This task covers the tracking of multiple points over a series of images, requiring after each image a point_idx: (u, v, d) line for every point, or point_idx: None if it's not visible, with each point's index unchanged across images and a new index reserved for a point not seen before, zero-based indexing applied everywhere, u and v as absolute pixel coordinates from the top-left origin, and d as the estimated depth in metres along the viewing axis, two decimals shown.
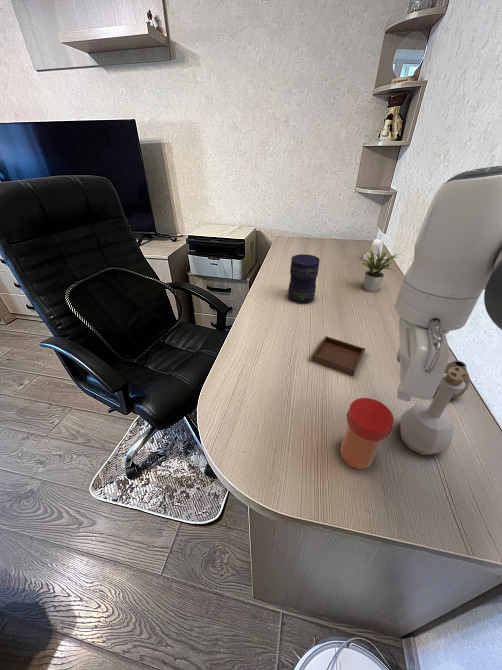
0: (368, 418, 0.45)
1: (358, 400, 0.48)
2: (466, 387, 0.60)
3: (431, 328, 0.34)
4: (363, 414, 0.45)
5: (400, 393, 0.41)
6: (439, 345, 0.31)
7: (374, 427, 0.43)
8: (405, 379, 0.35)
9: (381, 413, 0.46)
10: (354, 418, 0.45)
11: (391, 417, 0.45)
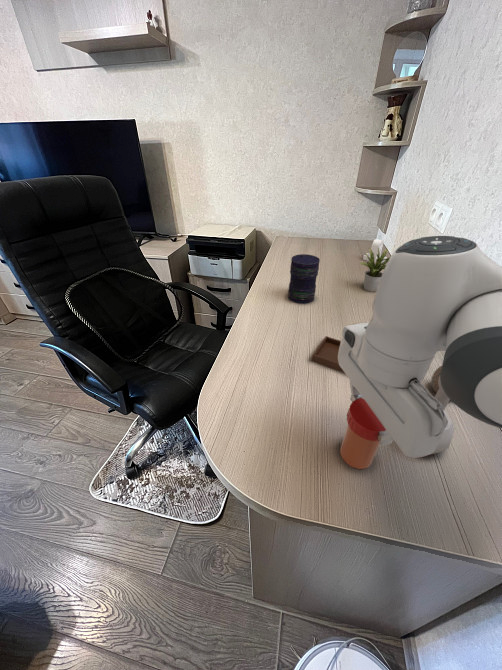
0: (368, 418, 0.45)
1: (358, 400, 0.48)
2: None
3: (419, 392, 0.34)
4: (363, 414, 0.45)
5: (384, 441, 0.42)
6: (443, 413, 0.31)
7: (374, 427, 0.43)
8: (412, 447, 0.34)
9: None
10: (354, 418, 0.45)
11: None
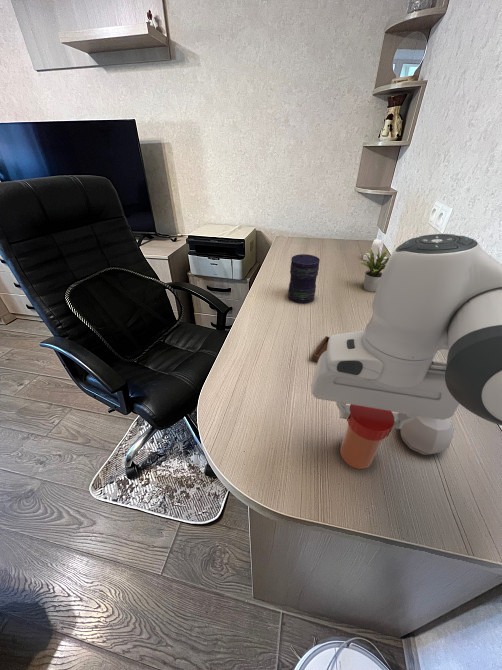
0: (377, 419, 0.44)
1: (352, 412, 0.45)
2: None
3: (441, 368, 0.37)
4: (371, 419, 0.44)
5: None
6: None
7: (388, 421, 0.44)
8: (453, 410, 0.39)
9: None
10: (375, 430, 0.43)
11: None
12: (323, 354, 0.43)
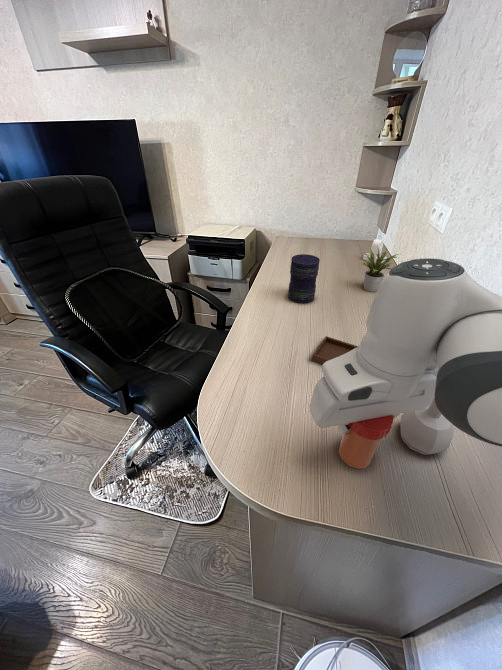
0: None
1: None
2: None
3: None
4: (374, 419, 0.44)
5: None
6: None
7: None
8: (432, 399, 0.45)
9: None
10: (383, 428, 0.43)
11: None
12: (320, 383, 0.42)
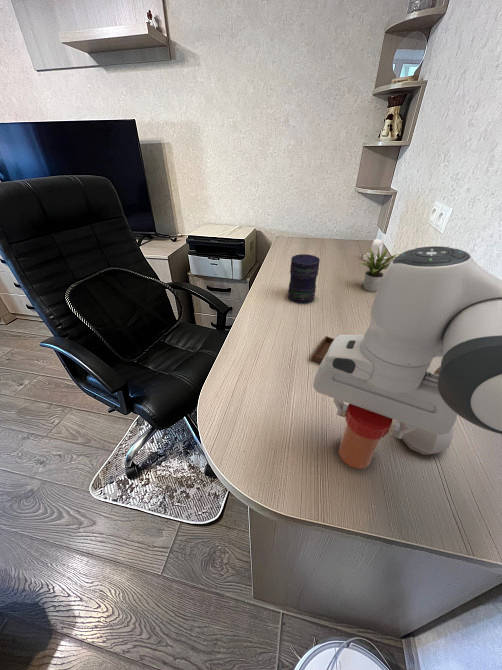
0: (377, 416, 0.45)
1: (353, 416, 0.45)
2: None
3: None
4: (373, 418, 0.44)
5: (402, 434, 0.44)
6: None
7: None
8: (449, 426, 0.38)
9: None
10: (381, 428, 0.43)
11: None
12: None
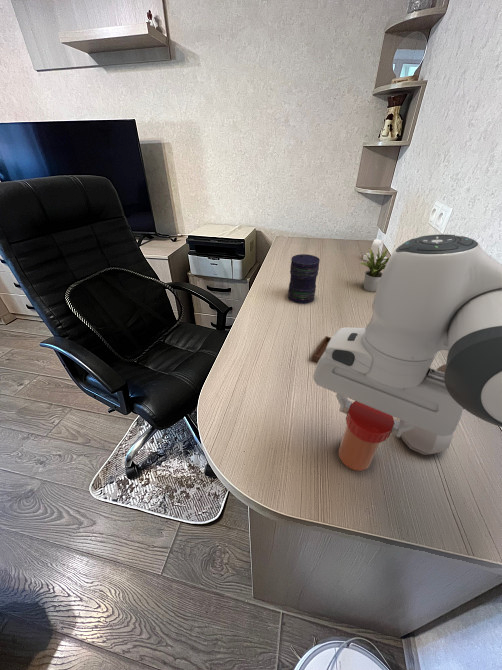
0: (379, 415, 0.45)
1: (367, 429, 0.43)
2: None
3: (442, 378, 0.35)
4: (379, 420, 0.44)
5: (401, 432, 0.43)
6: None
7: None
8: (452, 427, 0.37)
9: (361, 408, 0.46)
10: (392, 425, 0.43)
11: None
12: None
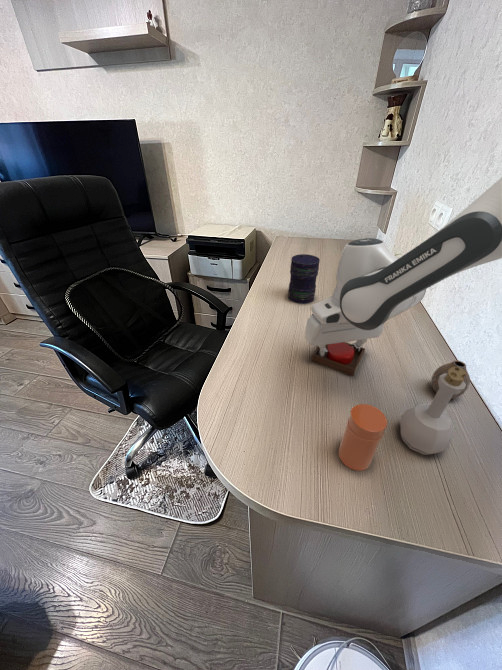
0: (343, 347, 0.74)
1: (347, 356, 0.71)
2: (466, 387, 0.60)
3: None
4: (345, 349, 0.73)
5: (360, 347, 0.74)
6: None
7: (341, 343, 0.75)
8: (382, 329, 0.70)
9: (334, 349, 0.73)
10: (352, 348, 0.74)
11: (329, 346, 0.74)
12: (310, 317, 0.68)
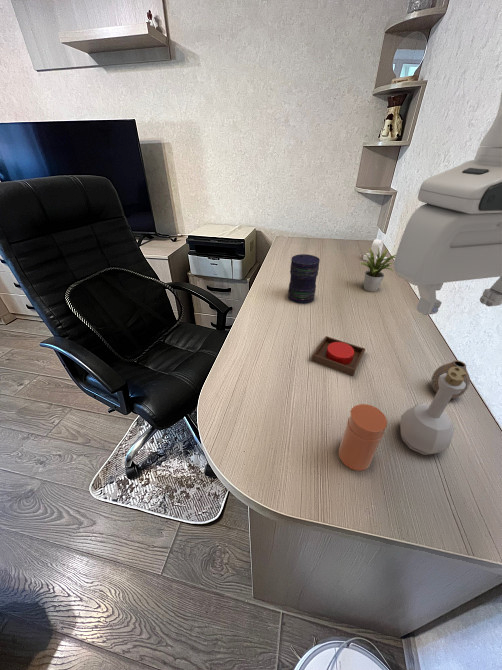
0: (343, 347, 0.74)
1: (347, 356, 0.71)
2: (466, 387, 0.60)
3: None
4: (345, 349, 0.73)
5: None
6: None
7: (341, 343, 0.75)
8: None
9: (334, 349, 0.73)
10: (352, 348, 0.74)
11: (329, 346, 0.74)
12: (417, 213, 0.28)
